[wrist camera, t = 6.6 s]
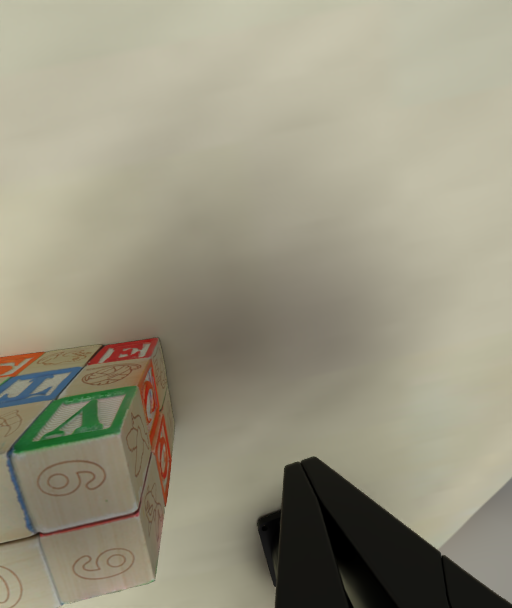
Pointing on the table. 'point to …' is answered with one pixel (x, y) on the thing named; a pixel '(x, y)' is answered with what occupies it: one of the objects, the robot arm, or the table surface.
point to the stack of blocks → (82, 471)
